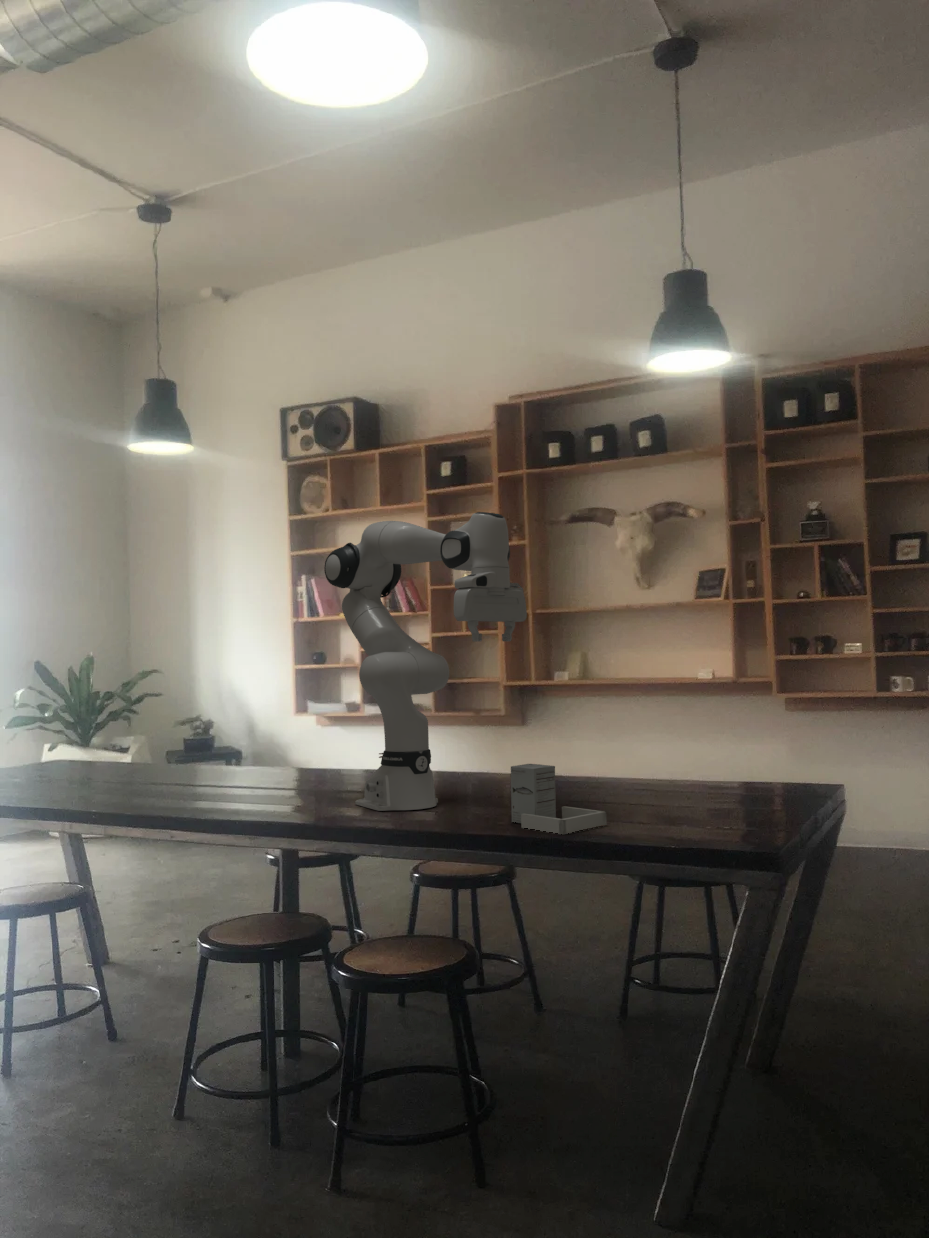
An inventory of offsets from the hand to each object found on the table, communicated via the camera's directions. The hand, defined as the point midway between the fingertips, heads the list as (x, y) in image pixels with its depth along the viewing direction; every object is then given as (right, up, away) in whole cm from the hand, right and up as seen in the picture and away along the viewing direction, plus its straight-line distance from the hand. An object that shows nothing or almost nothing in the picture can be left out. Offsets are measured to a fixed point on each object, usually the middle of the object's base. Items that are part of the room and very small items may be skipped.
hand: (492, 641), depth 217 cm
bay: (+15, -40, -13) cm, 45 cm away
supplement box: (+9, -40, -7) cm, 42 cm away
